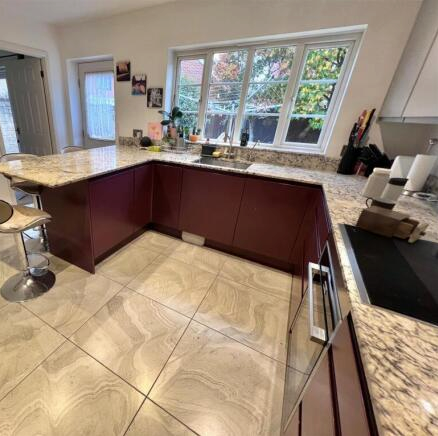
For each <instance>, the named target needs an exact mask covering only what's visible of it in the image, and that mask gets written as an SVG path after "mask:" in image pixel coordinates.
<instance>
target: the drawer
mask: <svg viewBox="0 0 438 436" xmlns="http://www.w3.org/2000/svg"><path fill="white" fill-rule="evenodd" d="M420 223H421V221H419V220H416V219H412V218H406V219H404V220H402V221H400V222H399V224H398V226H397V228H396V230H395V231H394V233H393V235H394V237H397V238H399V239H403V240H406V239H407V238H408V240H407V242H408V243H411V244H413V243H414V242H416V241H418V240H420V239H421V238H422V237H425V236H426V234H427V232H426V231H427V229H428V227H429V226H430V222H424V223H422V224H420Z"/></svg>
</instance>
